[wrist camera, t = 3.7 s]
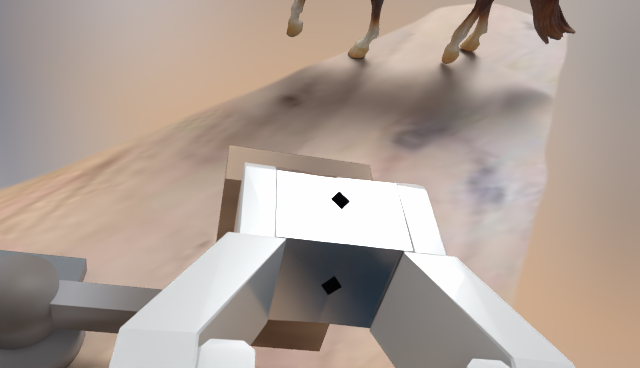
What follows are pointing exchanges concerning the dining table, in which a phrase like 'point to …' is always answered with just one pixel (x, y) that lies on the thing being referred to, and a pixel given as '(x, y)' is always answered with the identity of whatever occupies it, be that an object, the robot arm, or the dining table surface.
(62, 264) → the white-striped grey panel
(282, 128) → the dining table surface
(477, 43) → the horse figurine
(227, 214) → the lever with brown handle
